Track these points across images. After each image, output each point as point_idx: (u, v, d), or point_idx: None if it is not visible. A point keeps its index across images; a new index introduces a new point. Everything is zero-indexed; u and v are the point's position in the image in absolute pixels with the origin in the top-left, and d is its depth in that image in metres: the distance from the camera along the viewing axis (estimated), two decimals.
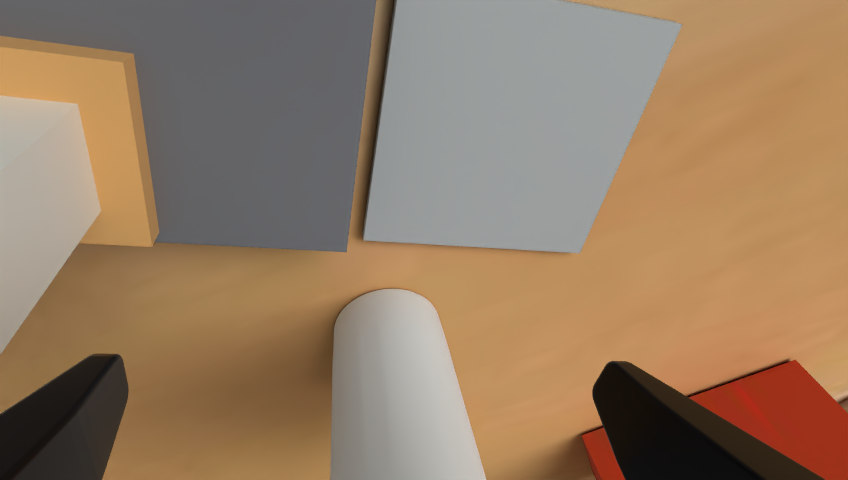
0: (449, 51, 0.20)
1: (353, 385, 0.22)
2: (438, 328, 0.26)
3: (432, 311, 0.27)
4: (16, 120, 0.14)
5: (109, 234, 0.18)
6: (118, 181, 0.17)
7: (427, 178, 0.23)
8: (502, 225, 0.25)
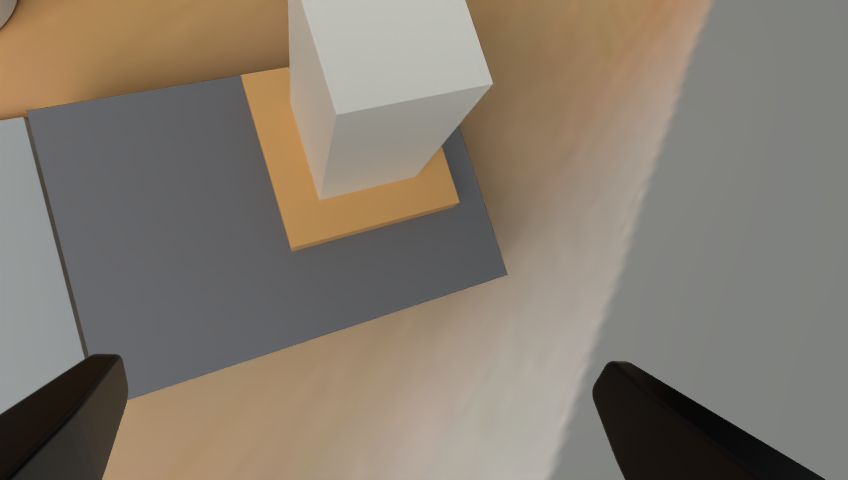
0: (10, 365, 0.18)
1: None
2: None
3: None
4: (347, 183, 0.17)
5: (280, 80, 0.19)
6: (280, 138, 0.19)
7: None
8: None
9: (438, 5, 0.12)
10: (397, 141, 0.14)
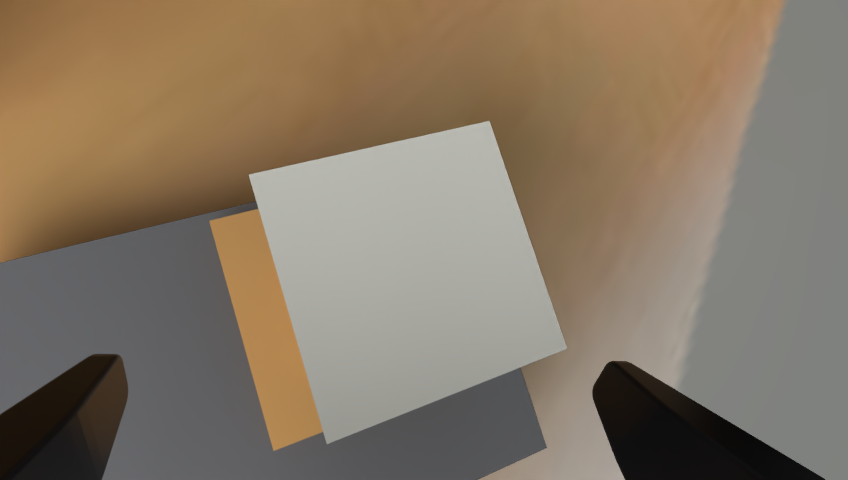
0: None
1: None
2: None
3: None
4: None
5: (260, 224, 0.15)
6: (259, 302, 0.15)
7: None
8: None
9: (483, 230, 0.08)
10: None
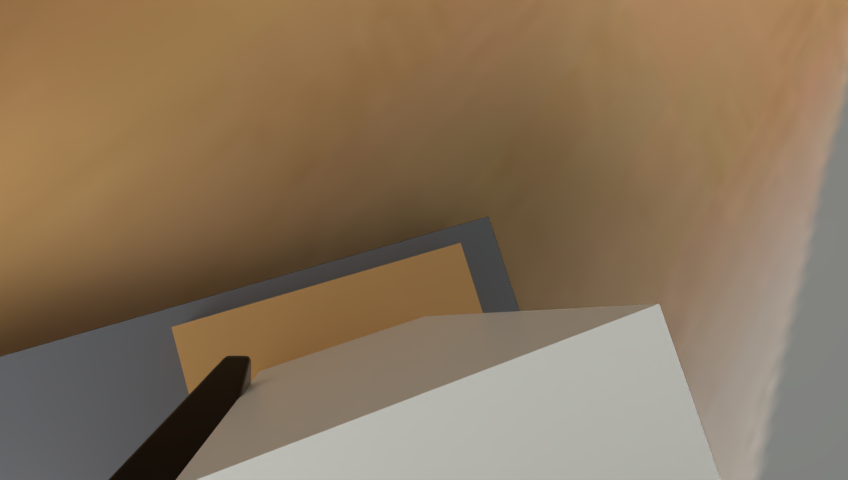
0: None
1: None
2: None
3: None
4: None
5: (242, 328, 0.11)
6: None
7: None
8: None
9: None
10: None
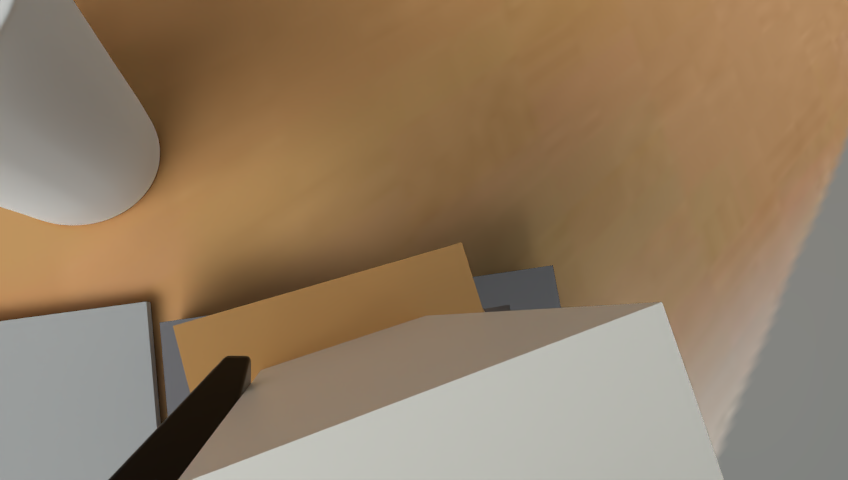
0: None
1: (93, 152, 0.15)
2: None
3: None
4: None
5: (244, 327, 0.11)
6: None
7: (79, 409, 0.19)
8: None
9: None
10: None
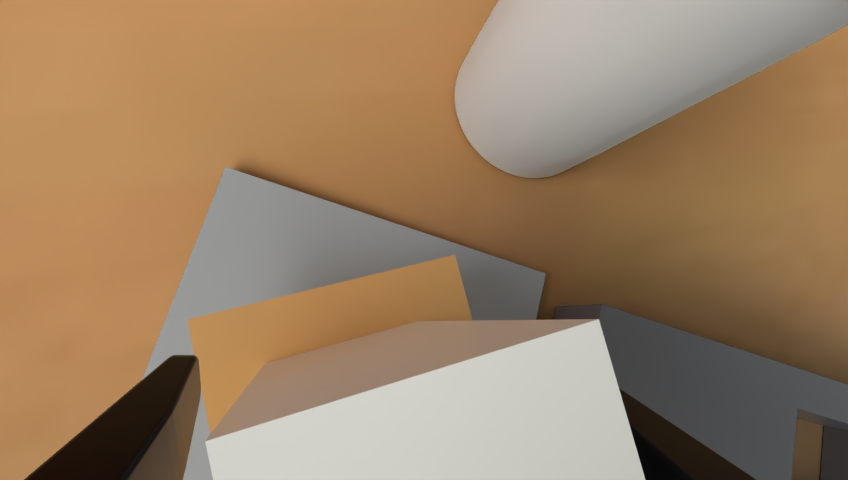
0: None
1: None
2: (481, 111, 0.17)
3: (472, 127, 0.18)
4: None
5: (251, 323, 0.12)
6: None
7: None
8: (357, 254, 0.17)
9: None
10: None
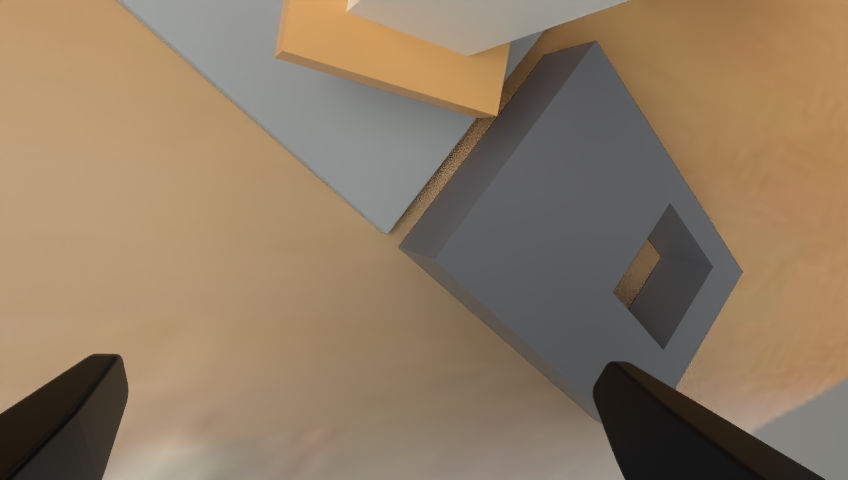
0: (383, 143, 0.18)
1: None
2: None
3: None
4: (403, 7, 0.12)
5: None
6: None
7: None
8: None
9: None
10: None
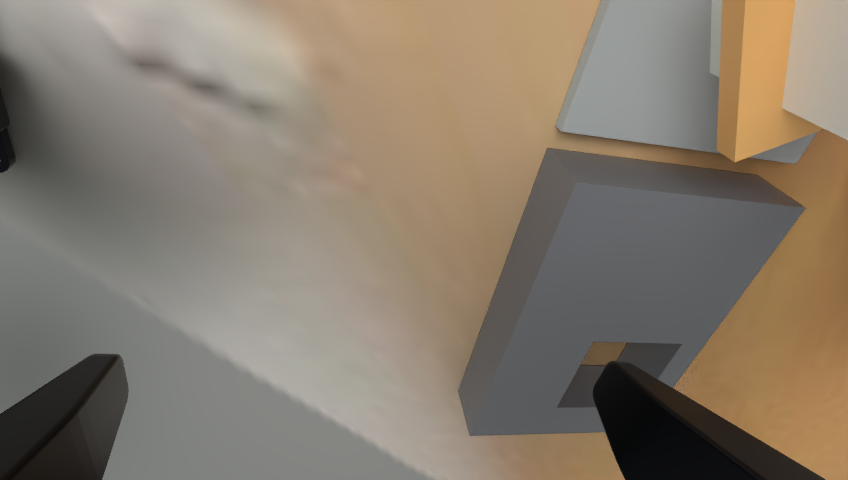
0: (640, 82, 0.19)
1: None
2: None
3: None
4: (841, 27, 0.13)
5: None
6: None
7: None
8: None
9: None
10: None
